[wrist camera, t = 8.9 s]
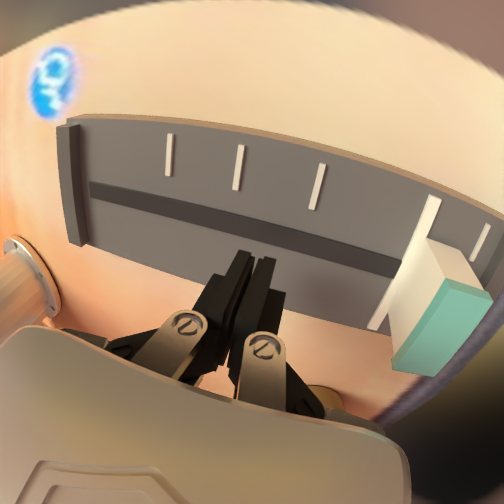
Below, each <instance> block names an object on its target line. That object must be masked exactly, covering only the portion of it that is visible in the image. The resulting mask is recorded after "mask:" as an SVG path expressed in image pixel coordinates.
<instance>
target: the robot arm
mask: <svg viewBox="0 0 504 504" xmlns="http://www.w3.org/2000/svg"><path fill="white" fill-rule="evenodd" d="M276 260H277V259H275V258H271V257H267V256H264V259H262V258H259V259H258V261H257V264H256V266H255V269H254V271H253V267H254V262H255V257H254V256H251V252H248V251H244V250H240V249H239V250H238V252H237V254H236V256H235V257H234V259H233V261H232V263H231V265H230V267H229V269H228V271H227V273H226V274H225V276H223V275H219V274H216V273H214V274H213V275H212V276H211V278H210V280H209V281H208V283H207V285H206V286H205V288H204V290H203V292H202V293H201V295H200V297H199V298H198V300H197V302H196V303H195V305H194V307H193V309H192V310H180V311H178V312H175V313H174V314H172V315H171V316H170V317H169V318H168V319H167V320H166V321H165V323H164V324H163V325H162V326H161V327H160V328H158V329H154V330H150V331H146V332H142V333H138V334H134V335H130V336H126V337H122V338H118V339H115V340H112V341H108V339H107V338H105V337H101V336H96V335H92V334H88V333H84V332H80V331H76V330H72V329H66V328H65V329H61V330H59V329H55V328H51V327H47V326H44V325H43V324H42V320H43V319H44V318H45V317H46V316H48V317H54V316H56V315H57V314H58V313H59V311H60V309H61V300H60V296H59V293H58V290H57V287H56V285H55V282H54V280H53V278H52V276H51V274H50V273H49V271H48V269H47V267H46V266H45V264H44V263H43V261H42V260H41V258H40V257H39V255H38V254H37V253H36V252H35V250H34V249H33V248H32V247H31V246H30V245H29V244H28V243H27V242H26V241H25V240H24V239H22V238H20V237H18V236H15V235H14V236H11V237H9V238H8V239H6V241H5V242H4V256H2V257H1V258H0V504H411V479H410V469H409V464H408V460H407V457H406V455H405V453H404V451H403V450H402V449H401V447H400V446H398V445H397V444H396V443H394V442H393V441H392V440H390V439H388V438H387V437H386V435H385V432H384V429H383V428H382V427H381V426H380V425H378V424H377V423H375V422H372V421H369V420H366V419H363V418H360V417H357V416H354V415H351V414H349V413H346V412H343V411H340V410H338V409H335V408H333V407H332V408H331V409H328V408H325V407H324V406H323V404H322V403H321V401H320V400H319V399H318V398H317V397H316V395H315V394H314V393H313V392H312V391H311V390H310V389H309V387H308V386H307V385H306V384H305V383H304V382H303V380H302V379H301V378H300V377H299V376H298V375H297V373H296V372H295V371H294V370H293V369H292V367H291V366H290V365H289V364H288V363H287V362H286V348H285V344H284V343H283V341H282V340H281V339H280V338H279V337H278V336H277V334H278V329H279V325H280V320H281V316H282V311H283V306H284V302H285V297H286V292H283V291H279V290H275V289H271V288H270V284H271V280H272V276H273V272H274V268H275V264H276ZM252 272H253V274H252ZM229 350H230V351H229ZM228 352H229V357H228V363H227V367H228V368H230V369H229V375H228V377H229V378H230V380H231V381H232V383H233V384H234V386H235V387H234V393H233V399H232V398H228V397H225V396H222V395H218V394H215V393H212V392H209V391H206V390H203V389H200V388H197V387H198V386H199V384H200V383H201V381H202V380H203V377H204V374H207V373H209V372H212V371H216V370H217V368H218V365H221V366H223V365H224V363H225V360H226V357H227V355H228Z"/></svg>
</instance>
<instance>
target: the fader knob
mask: <svg viewBox="0 0 504 504" xmlns="http://www.w3.org/2000/svg"><path fill="white" fill-rule="evenodd" d="M492 303H493V300H492V298H491V296H490V294H489V292H487V291H484V289H483V287H482V286H481V284H480V282H479V280H478V279H477V277H476V275H475V273H474V272H473V270H472V268H471V267H470V265H469V263H468V262H467V260H466V259H465V257H464V255H463V254H462V252H461V251H460V250H458V249H456V248H453V247H450V246H448V245H445V244H442V243H440V242H437V241H434V240H431V239H428V238H426V237H424V239H423V241H422V243H421V246H420V248H419V250H418V252H417V254H416V256H415V258H414V260H413V262H412V264H411V267H410V269H409V271H408V272H407V274H406V276H405V278H404V280H403V282H402V284H401V286H400V288H399V290H398V292H397V293H396V295H395V297H394V299H393V301H392V302H391V304H390V306H389V308H388V315H389V321H390V329H391V336H392V345H393V354H394V356H393V358H392V359H391V361H392V370H395V371H401V372H406V373H412V374H419V375H425V376H432V377H434V376H435V375H436V374H437V373H438V372H439V371H440V370H441V369H442V368H443V367H444V366H445V364H446V363H447V362H448V361H449V360H450V359H451V358H452V356H453V355H454V354H455V353H456V352H457V351H458V349H459V348H460V347H461V346H462V344H463V343H464V342H465V341H466V339H467V338H468V337H469V336H470V334H471V333H472V332H473V330H474V329H475V328H476V326H477V325H478V324H479V322H480V321H481V319H482V318H483V317H484V315H485V314H486V312H487V311H488V309H489V308H490V306H491V305H492Z"/></svg>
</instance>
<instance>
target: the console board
mask: <svg viewBox="0 0 504 504" xmlns="http://www.w3.org/2000/svg"><path fill="white" fill-rule="evenodd" d="M56 135H57V156H58V169H59V179H60V188H61V197H62V204H63V211H64V217H65V223H66V228H67V234H68V239H69V242H70V243H72V244H75V245H77V246H80V247H82V246H83V245H85V244H88V245H91V246H93V247H96V248H99V249H101V250H104V251H107V252H109V253H112V254H115V255H118V256H120V257H123V258H126V259H129V260H132V261H134V262H137V263H140V264H143V265H146V266H149V267H152V268H155V269H157V270H160V271H163V272H166V273H169V274H172V275H175V276H178V277H181V278H184V279H187V280H191V281H194V282H197V283H200V284H203V285H207V283H208V281H209V280H210V278H211V276H212V275H213V274H214V273H216V274H219V275H223V276H225V274H226V273H227V271H228V269H229V267H230V265H231V263H232V261H233V259H234V257H235V256H236V254H237V252H238V250H239V249H240V250H244V251H248V252H251V256H254V257H255V262H254V267H253V271H254V269H255V266H256V264H257V261H258V259H259V258H262V259H264V256H267V257H271V258H275V259H277V260H276V264H275V268H274V272H273V276H272V280H271V284H270V288H271V289H275V290H279V291H283V292H286V297H285V302H284V306H283V309H286V310H290V311H294V312H297V313H301V314H305V315H308V316H312V317H316V318H320V319H323V320H327V321H331V322H335V323H339V324H343V325H347V326H351V327H355V328H359V329H363V330H367V331H371V332H375V333H380V334H384V335H388V336H391V329H390V321H389V315H388V308H389V306H390V304H391V302H392V301H393V299H394V297H395V295H396V293H397V292H398V290H399V288H400V286H401V284H402V282H403V280H404V278H405V276H406V274H407V272H408V271H409V269H410V267H411V264H412V262H413V260H414V258H415V256H416V254H417V252H418V250H419V248H420V246H421V243H422V241H423V239H424V237H426V238H428V239H431V240H434V241H437V242H440V243H442V244H445V245H448V246H450V247H453V248H456V249H458V250H460V251H461V252H462V254H463V255H464V257H465V259H466V260H467V262H468V263H469V265H470V267H471V268H472V270H473V272H474V273H475V275H476V277H477V279H478V280H479V282H480V284H481V286H482V287H483V289H484V291H487V292H489V294H490V296H491V298H492V300H493V303H492V305H493V304H494V302H495V301H496V299H497V297H498V296H499V294H500V293H501V291H502V289H503V288H504V215H503V214H502V213H500V212H498V211H496V210H494V209H492V208H490V207H488V206H486V205H484V204H482V203H480V202H478V201H476V200H474V199H472V198H470V197H468V196H466V195H464V194H461V193H459V192H457V191H455V190H453V189H450V188H448V187H446V186H443V185H441V184H439V183H436V182H434V181H431V180H429V179H426V178H424V177H421V176H419V175H416V174H414V173H411V172H408V171H406V170H403V169H400V168H398V167H395V166H392V165H389V164H386V163H383V162H380V161H377V160H374V159H371V158H368V157H365V156H362V155H359V154H355V153H352V152H349V151H345V150H342V149H338V148H335V147H331V146H327V145H324V144H320V143H316V142H312V141H308V140H304V139H300V138H295V137H291V136H287V135H282V134H277V133H272V132H268V131H262V130H257V129H252V128H246V127H241V126H235V125H228V124H222V123H215V122H208V121H200V120H191V119H182V118H172V117H160V116H146V115H127V114H83V115H79V116H75V117H71V118H67V124H65V125H61V126H58V127H56ZM252 274H253V272H252ZM492 305H491V306H490V308H491V307H492ZM490 308H489V309H488V311H489V310H490ZM488 311H487V312H488ZM487 312H486V314H487ZM486 314H485V315H486ZM485 315H484V317H485ZM484 317H483V318H484ZM483 318H482V319H481V321H482V320H483ZM481 321H480V322H481ZM480 322H479V324H480ZM479 324H478V325H479ZM478 325H477V326H478ZM477 326H476V328H477ZM476 328H475V329H476ZM475 329H474V330H475ZM474 330H473V332H474ZM473 332H472V333H473ZM472 333H471V334H472ZM471 334H470V336H471ZM470 336H469V337H470ZM469 337H468V338H469ZM468 338H467V339H466V341H467V340H468ZM466 341H465V342H466ZM465 342H464V343H465ZM464 343H463V344H462V346H463V345H464ZM462 346H461V347H462ZM461 347H460V348H461ZM460 348H459V349H460ZM459 349H458V351H459ZM458 351H457V352H458ZM457 352H456V353H457ZM456 353H455V354H456ZM455 354H454V355H455Z"/></svg>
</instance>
